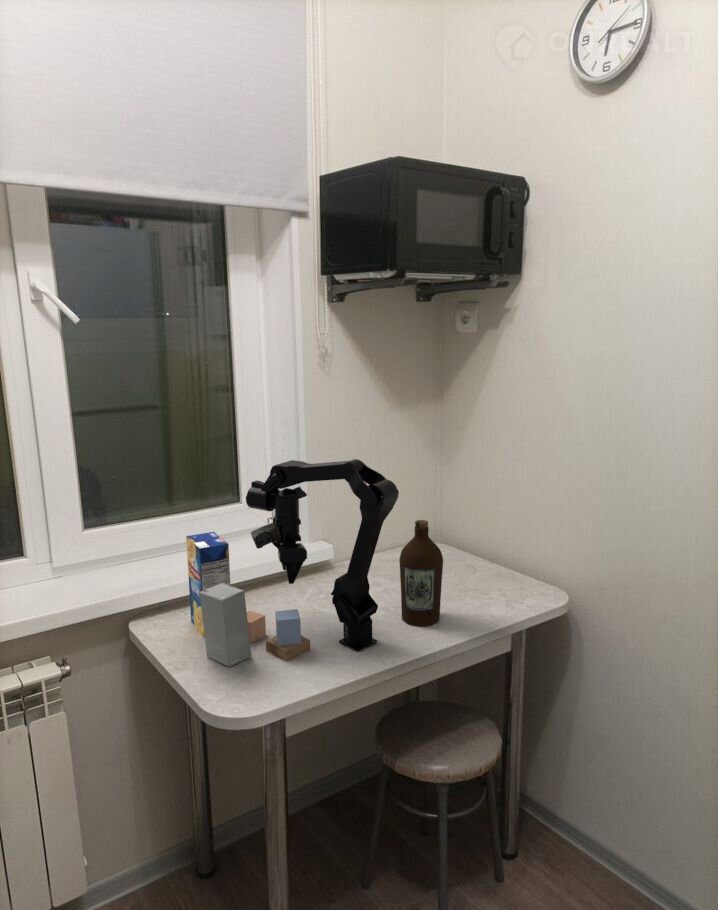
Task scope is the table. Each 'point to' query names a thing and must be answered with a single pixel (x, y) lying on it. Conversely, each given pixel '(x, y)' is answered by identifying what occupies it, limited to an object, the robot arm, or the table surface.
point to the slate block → (288, 627)
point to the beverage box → (205, 569)
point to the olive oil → (421, 578)
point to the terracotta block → (256, 625)
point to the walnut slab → (287, 648)
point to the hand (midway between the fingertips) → (288, 576)
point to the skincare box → (225, 624)
